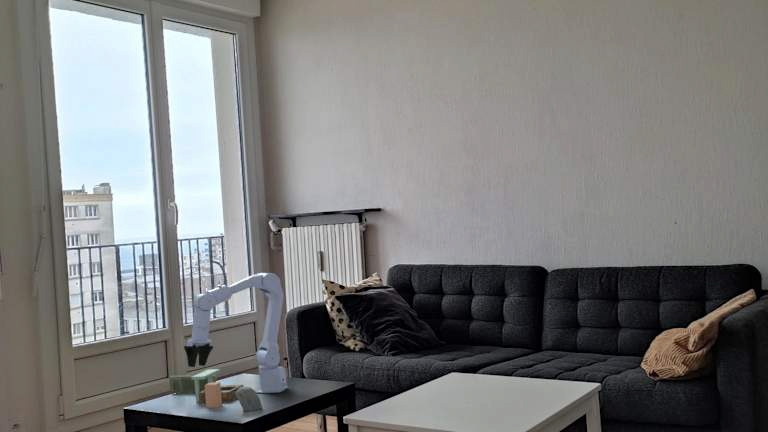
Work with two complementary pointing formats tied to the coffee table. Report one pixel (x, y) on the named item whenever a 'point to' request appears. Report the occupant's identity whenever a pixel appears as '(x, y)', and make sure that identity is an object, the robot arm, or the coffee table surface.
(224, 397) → the socket plate
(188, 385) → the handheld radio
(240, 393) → the mineral specimen
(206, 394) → the tan peg
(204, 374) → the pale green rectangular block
